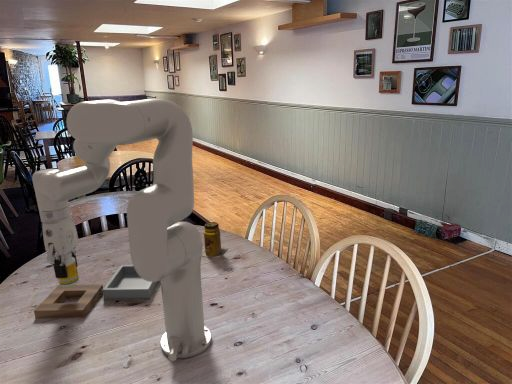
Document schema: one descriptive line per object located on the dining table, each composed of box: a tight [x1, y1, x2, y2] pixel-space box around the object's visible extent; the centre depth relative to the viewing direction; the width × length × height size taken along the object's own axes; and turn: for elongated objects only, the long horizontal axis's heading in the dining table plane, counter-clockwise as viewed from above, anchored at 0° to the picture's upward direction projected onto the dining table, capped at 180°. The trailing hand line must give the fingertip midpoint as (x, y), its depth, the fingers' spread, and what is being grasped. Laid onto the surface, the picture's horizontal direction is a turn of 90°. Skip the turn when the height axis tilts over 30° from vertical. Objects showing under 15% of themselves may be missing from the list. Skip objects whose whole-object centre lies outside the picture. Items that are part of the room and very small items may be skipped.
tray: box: [102, 264, 160, 301], centre depth 126 cm, size 16×14×4 cm
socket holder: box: [33, 283, 104, 319], centre depth 116 cm, size 14×14×2 cm
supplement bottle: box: [55, 251, 80, 287], centre depth 113 cm, size 5×5×10 cm
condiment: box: [201, 221, 228, 259], centre depth 147 cm, size 7×8×12 cm
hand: (67, 271), depth 113 cm, fingers closed on supplement bottle, 5 cm apart
